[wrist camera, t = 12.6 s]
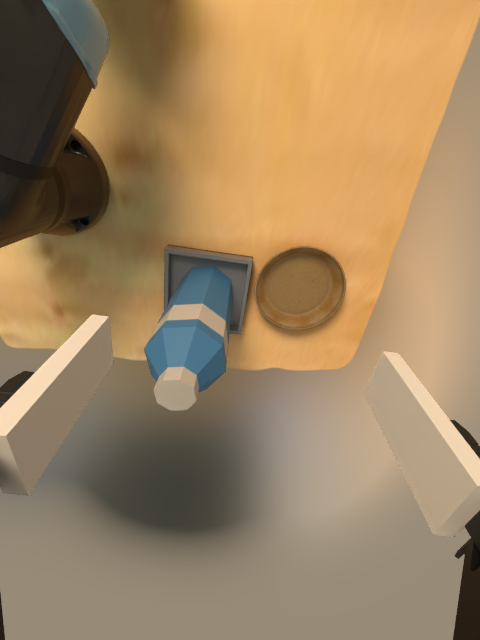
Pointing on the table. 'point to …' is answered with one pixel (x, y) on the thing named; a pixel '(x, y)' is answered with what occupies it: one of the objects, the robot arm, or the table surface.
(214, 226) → the table surface
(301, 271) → the plant saucer
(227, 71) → the table surface
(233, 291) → the tray
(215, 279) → the water bottle
